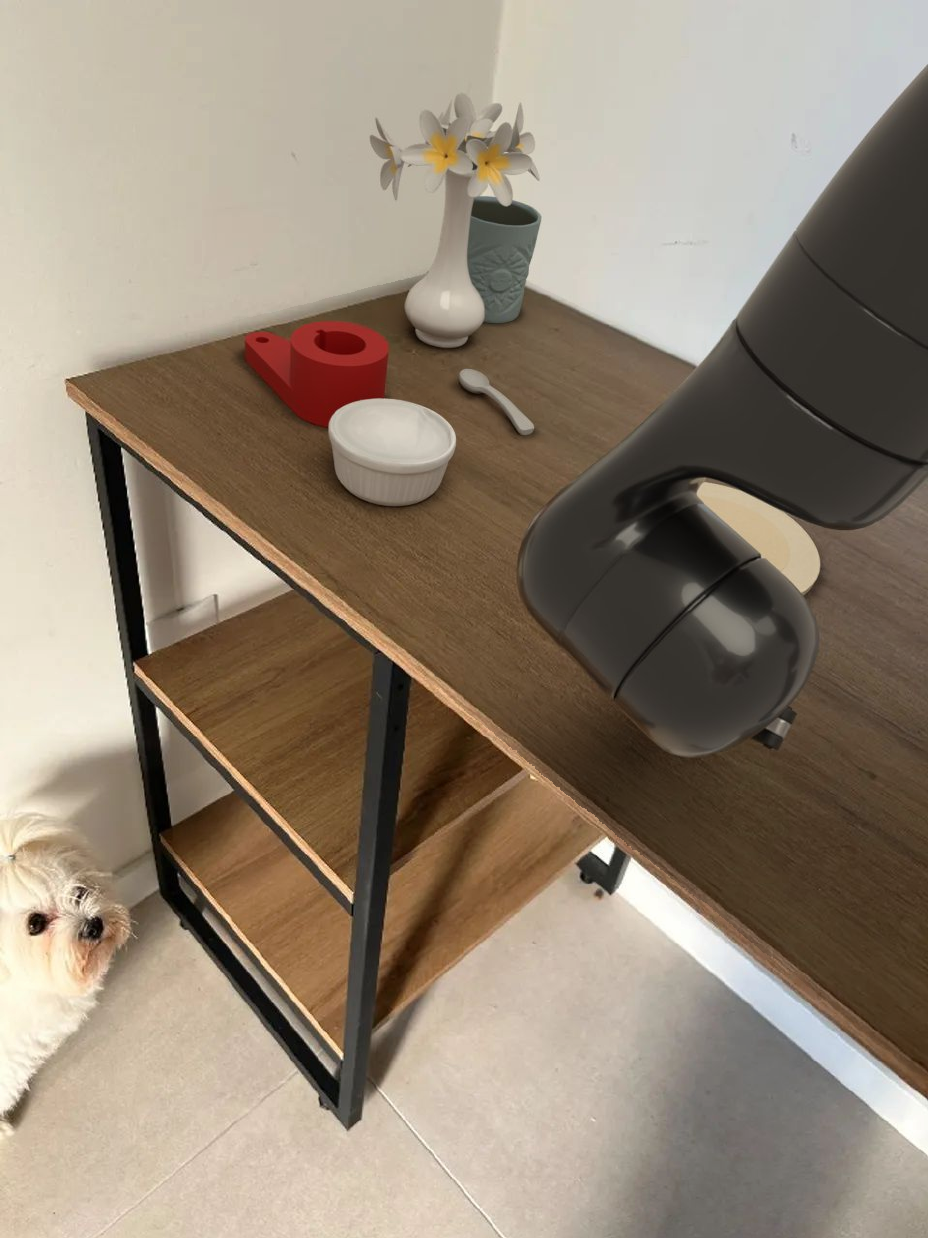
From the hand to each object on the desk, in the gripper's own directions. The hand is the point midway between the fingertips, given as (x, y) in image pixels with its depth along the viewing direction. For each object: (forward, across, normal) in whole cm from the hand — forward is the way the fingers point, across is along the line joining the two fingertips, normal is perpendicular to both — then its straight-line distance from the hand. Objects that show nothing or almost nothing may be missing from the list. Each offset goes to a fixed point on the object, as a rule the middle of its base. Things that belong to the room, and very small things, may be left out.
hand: (695, 696), depth 64 cm
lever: (+17, +50, -11) cm, 54 cm away
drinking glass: (+39, +48, -34) cm, 71 cm away
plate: (+20, +6, -15) cm, 26 cm away
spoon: (+24, +34, -19) cm, 46 cm away
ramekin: (+11, +34, -6) cm, 36 cm away
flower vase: (+31, +47, -26) cm, 62 cm away
